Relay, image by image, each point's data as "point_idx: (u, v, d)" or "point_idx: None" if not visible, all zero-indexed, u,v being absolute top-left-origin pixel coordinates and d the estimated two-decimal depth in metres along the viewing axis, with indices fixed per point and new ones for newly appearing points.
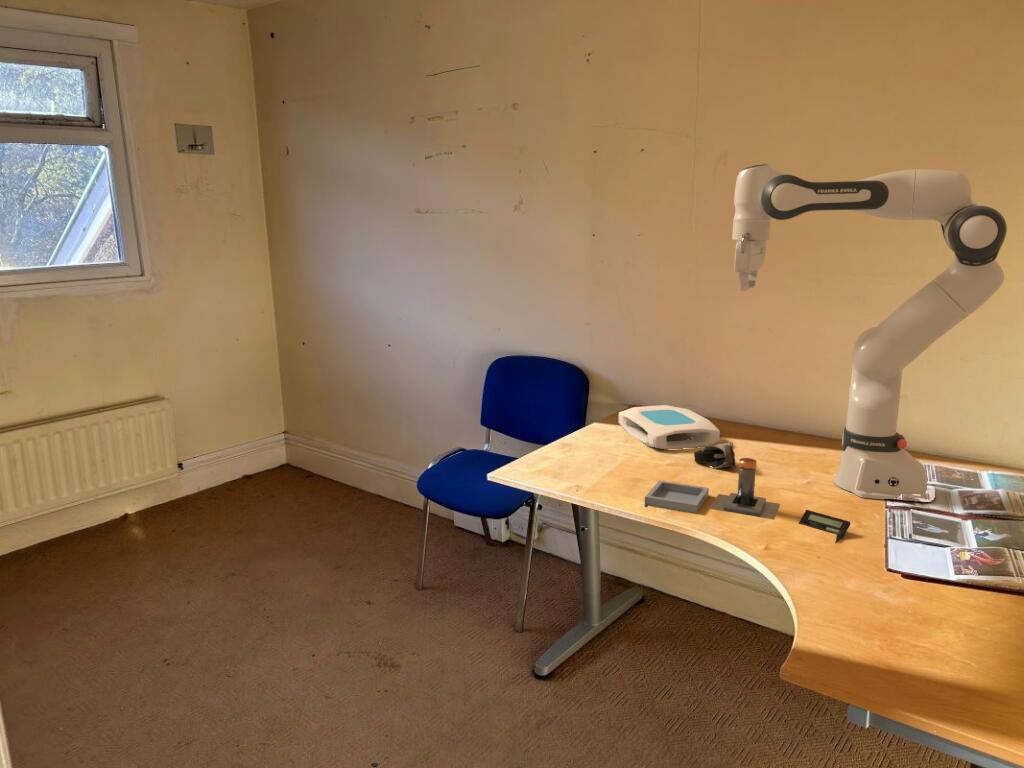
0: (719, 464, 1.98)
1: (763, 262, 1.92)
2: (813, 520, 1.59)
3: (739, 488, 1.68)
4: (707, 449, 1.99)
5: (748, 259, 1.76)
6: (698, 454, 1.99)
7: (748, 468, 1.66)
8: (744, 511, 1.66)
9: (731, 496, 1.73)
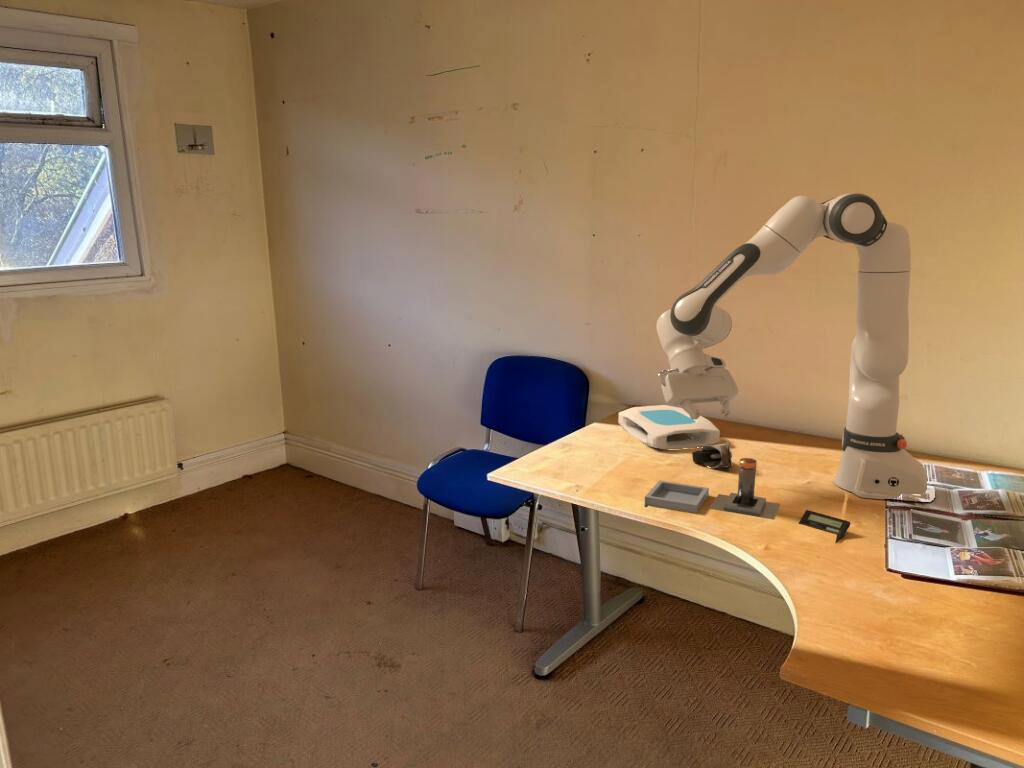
0: (716, 464, 1.98)
1: (736, 388, 1.83)
2: (813, 520, 1.59)
3: (739, 488, 1.68)
4: (705, 449, 1.99)
5: (669, 388, 1.76)
6: (695, 454, 1.99)
7: (748, 468, 1.66)
8: (744, 511, 1.66)
9: (731, 496, 1.73)
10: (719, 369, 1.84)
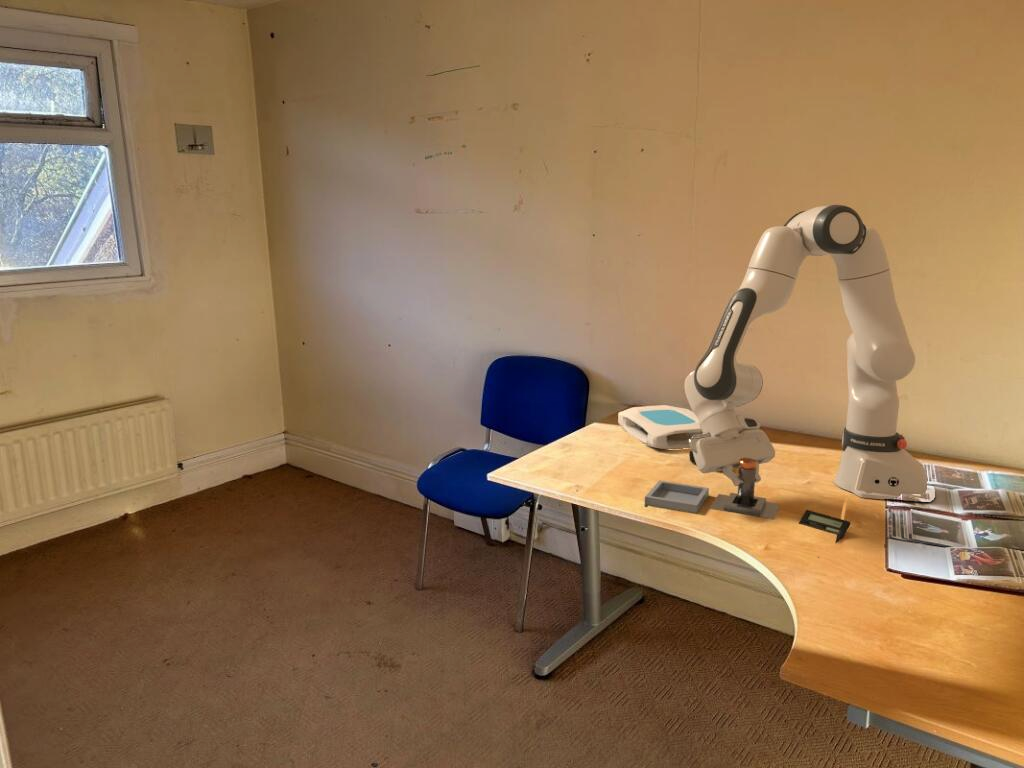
0: None
1: (772, 450, 1.73)
2: (813, 520, 1.59)
3: (739, 488, 1.68)
4: None
5: (702, 455, 1.67)
6: (691, 453, 2.00)
7: (748, 468, 1.66)
8: (744, 511, 1.66)
9: (731, 496, 1.73)
10: (753, 430, 1.74)
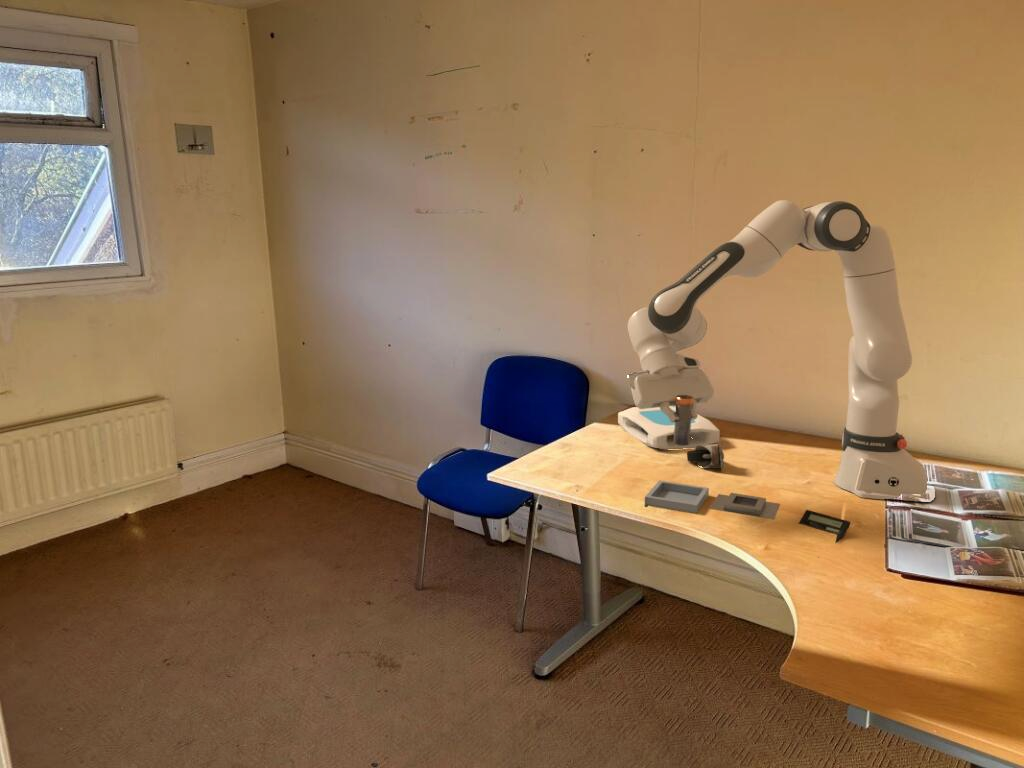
0: (709, 465, 1.98)
1: (711, 389, 1.74)
2: (813, 520, 1.59)
3: (675, 424, 1.69)
4: (698, 449, 2.00)
5: (638, 390, 1.68)
6: (689, 453, 2.00)
7: (684, 404, 1.67)
8: (744, 511, 1.66)
9: (731, 496, 1.73)
10: (693, 369, 1.74)
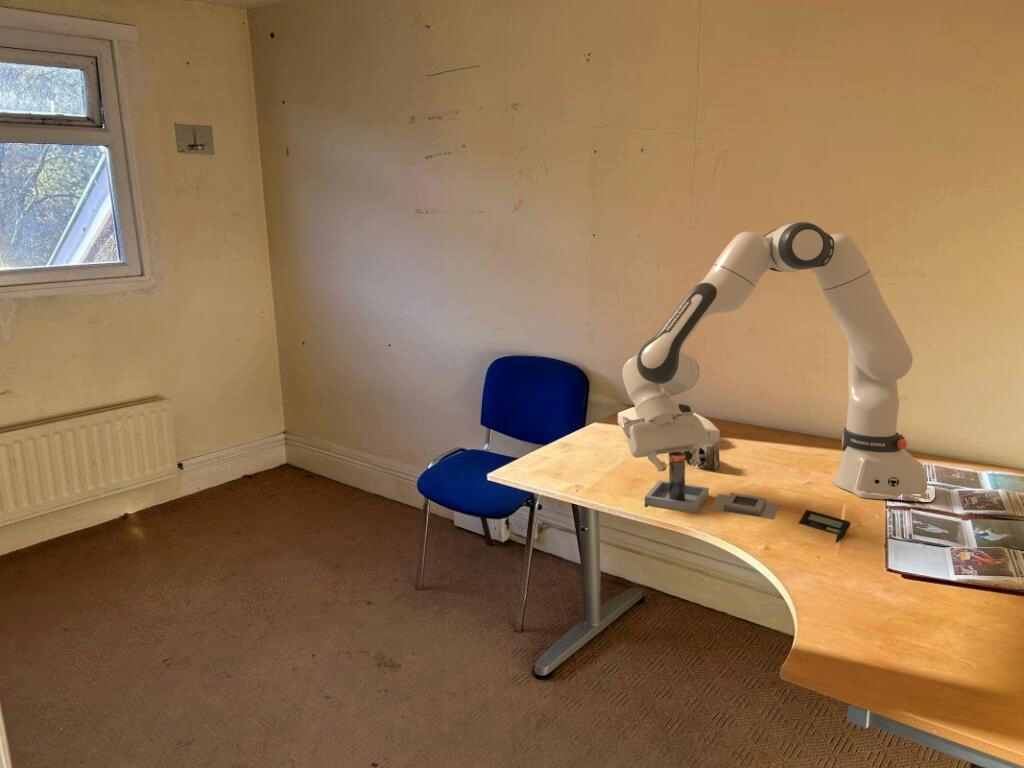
0: None
1: (706, 435, 1.76)
2: (813, 520, 1.59)
3: (670, 481, 1.73)
4: None
5: (634, 440, 1.70)
6: (685, 452, 2.01)
7: (677, 461, 1.71)
8: (744, 511, 1.66)
9: (731, 496, 1.73)
10: (687, 416, 1.77)
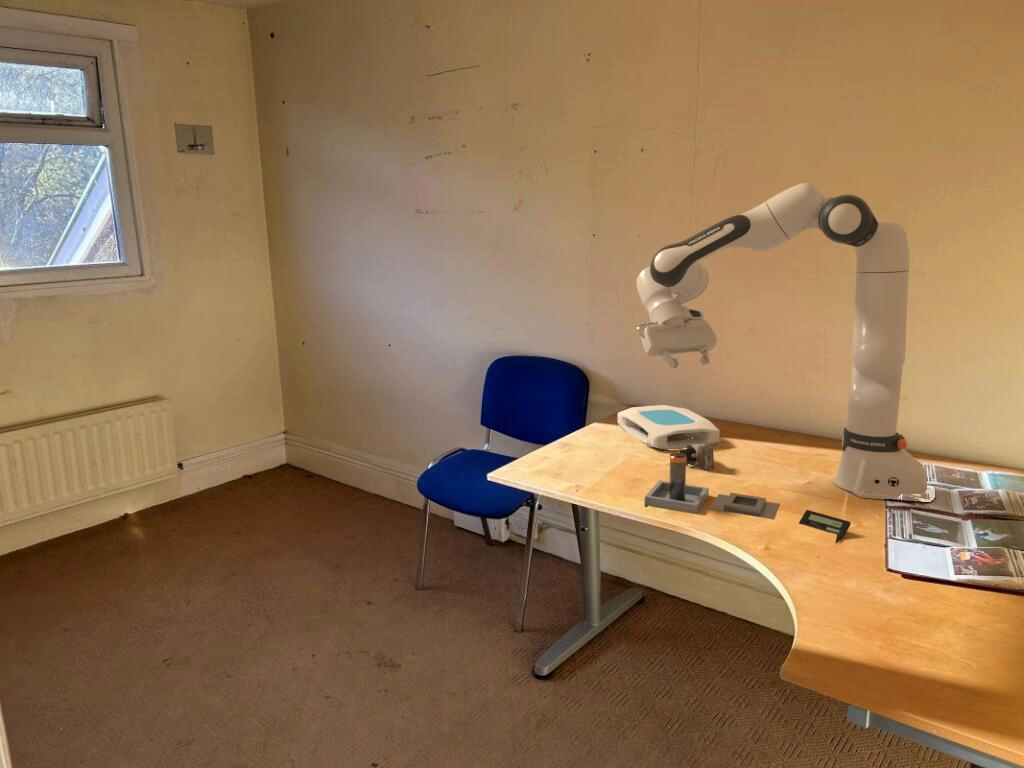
0: None
1: (714, 337, 1.90)
2: (813, 520, 1.59)
3: (671, 482, 1.72)
4: (690, 448, 2.01)
5: (648, 339, 1.84)
6: (680, 451, 2.01)
7: (678, 463, 1.70)
8: (744, 511, 1.66)
9: (731, 496, 1.73)
10: (697, 320, 1.90)
